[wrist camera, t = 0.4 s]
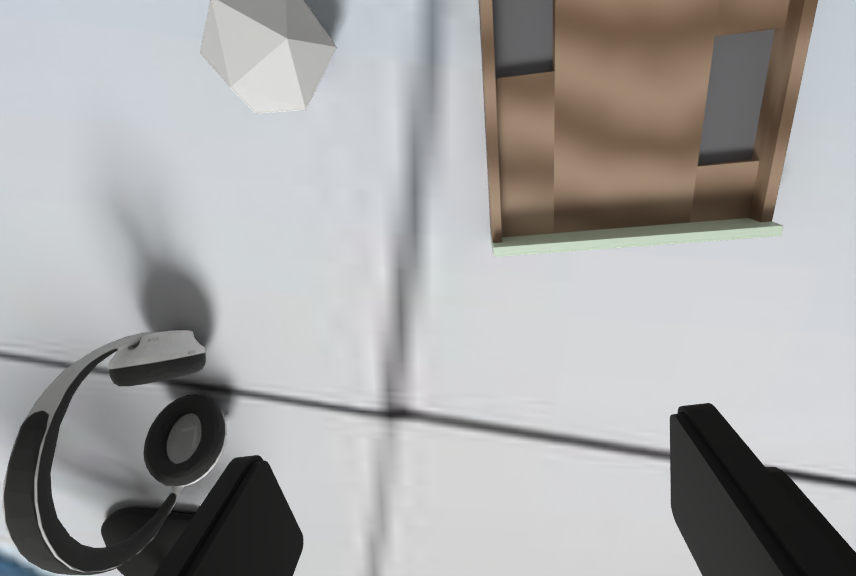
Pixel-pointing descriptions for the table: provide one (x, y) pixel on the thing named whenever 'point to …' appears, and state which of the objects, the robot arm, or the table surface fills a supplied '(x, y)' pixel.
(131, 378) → the headphones
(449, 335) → the table surface
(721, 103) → the trap pits
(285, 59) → the die
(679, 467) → the robot arm
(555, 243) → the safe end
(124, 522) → the desk fan
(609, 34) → the box
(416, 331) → the table surface
